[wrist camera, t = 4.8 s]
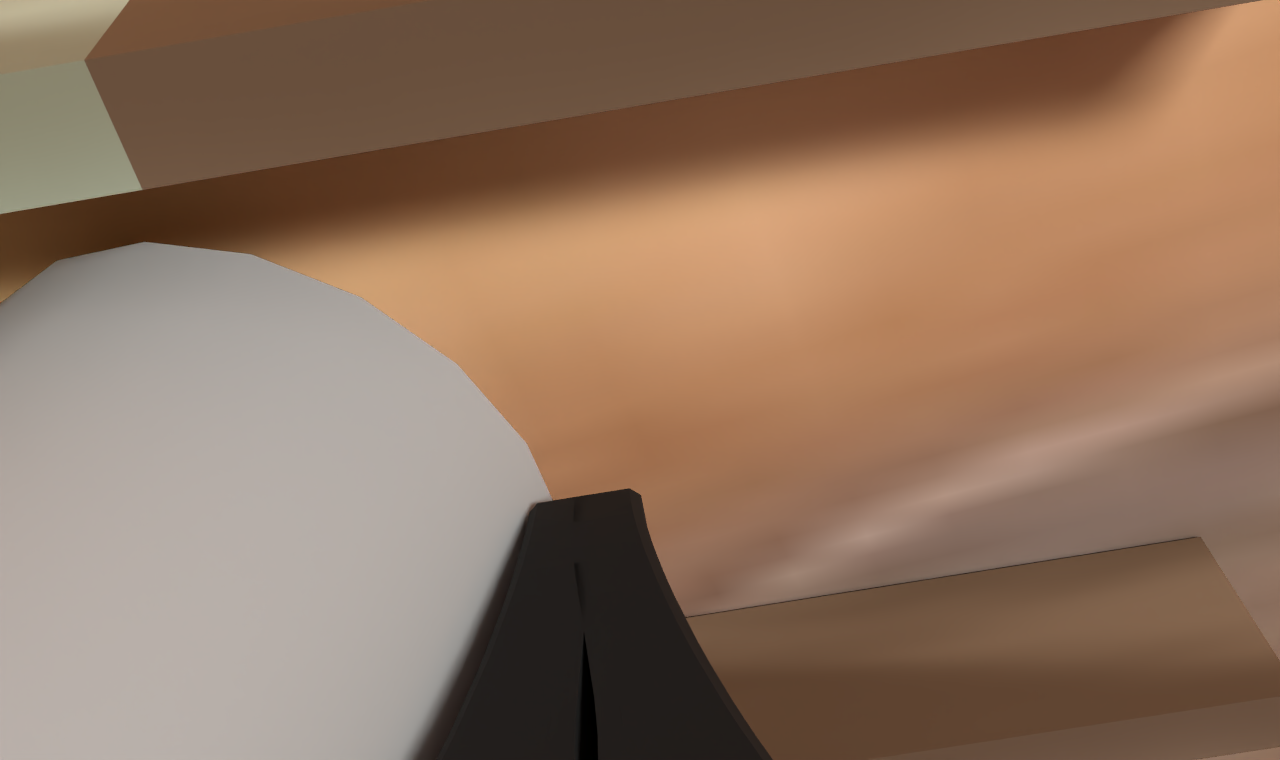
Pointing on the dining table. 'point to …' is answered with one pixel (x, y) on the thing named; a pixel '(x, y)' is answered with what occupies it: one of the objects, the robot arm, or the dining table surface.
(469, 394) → the can
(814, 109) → the dining table surface
